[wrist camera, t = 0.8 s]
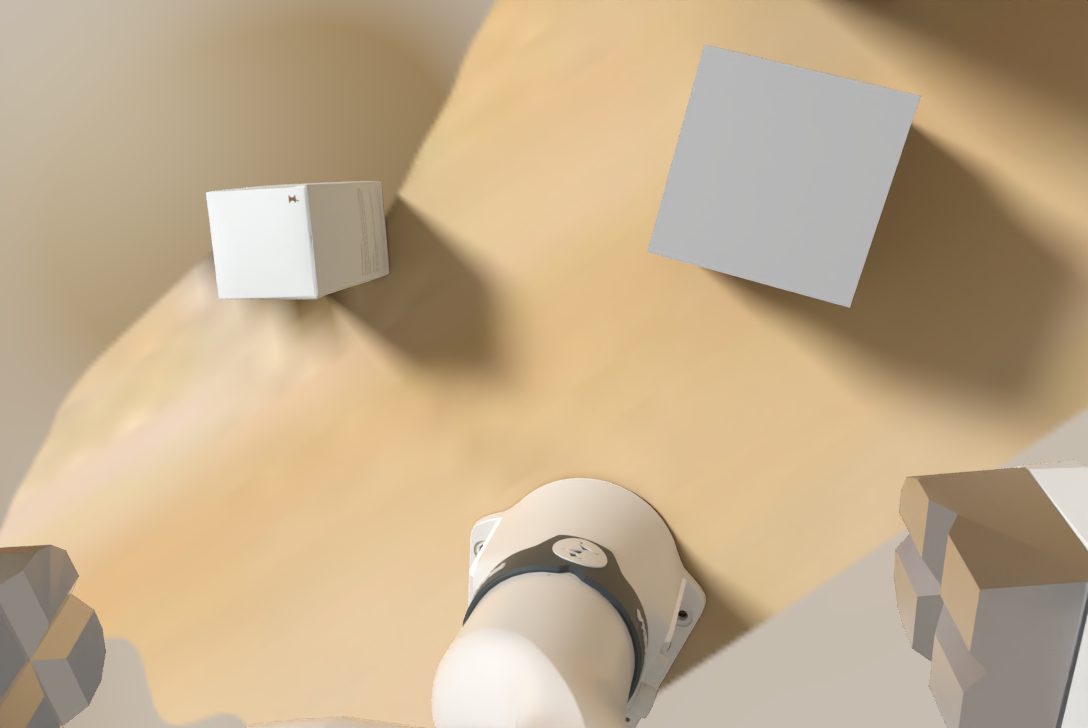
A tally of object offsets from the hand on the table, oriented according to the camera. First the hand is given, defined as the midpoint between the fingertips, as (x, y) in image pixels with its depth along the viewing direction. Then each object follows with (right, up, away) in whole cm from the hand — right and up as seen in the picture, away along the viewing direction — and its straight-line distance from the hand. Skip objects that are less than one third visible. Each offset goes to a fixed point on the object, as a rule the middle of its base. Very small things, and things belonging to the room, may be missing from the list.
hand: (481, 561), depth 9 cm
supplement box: (-15, +12, +64) cm, 67 cm away
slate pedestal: (+16, +15, +56) cm, 61 cm away
